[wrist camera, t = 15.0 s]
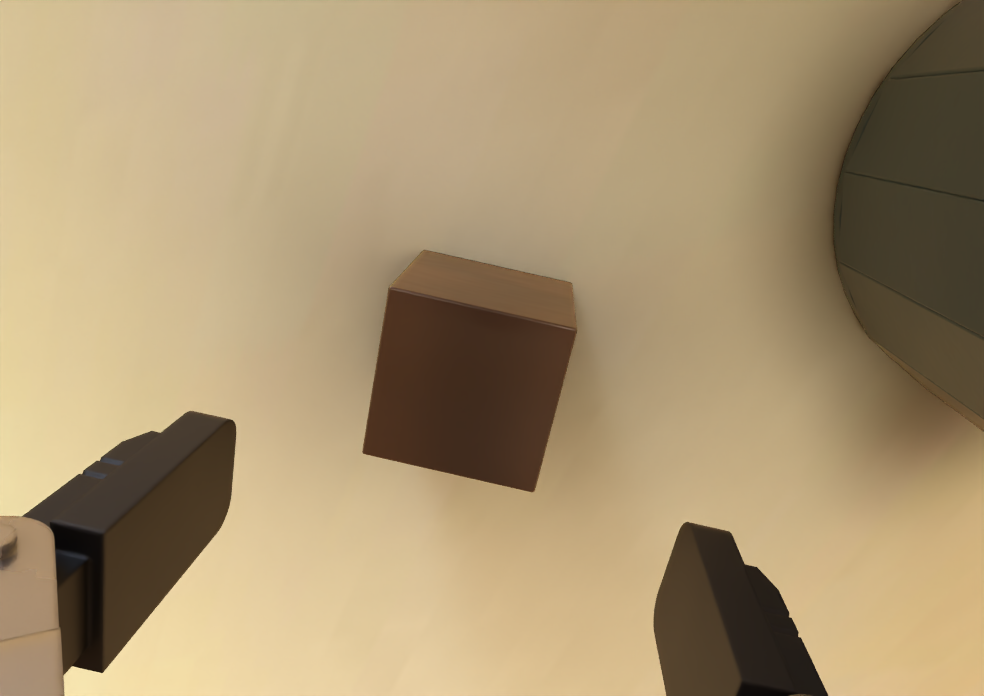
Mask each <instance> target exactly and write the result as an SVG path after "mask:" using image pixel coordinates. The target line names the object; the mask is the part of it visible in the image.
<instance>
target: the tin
mask: <svg viewBox="0 0 984 696" xmlns="http://www.w3.org/2000/svg"><path fill="white" fill-rule="evenodd" d="M834 247H835V253H836V260H837V267H838V272H839V275H840V278H841V281H842V285H843V288H844V291H845V294H846V297H847V299H848V301H849V303H850V305H851V307H852V309H853V311H854V313H855V315H856V317H857V319H858V320H859V322H860V323H861V324H862V326H863V327H864V329H865V331H866V334H867V335H868V337H869V338H870V339H871V340H872V341H873V342H875V343H876V344H877V345H878V346H879V347H880V348H881V349H882V350H883V351H884V352H885V353H886V354H887V355H888V356H889V357H890V358H891V359H893V360H894V361H895V362H896V363H898V364H899V365H900V366H901V367H902V368H903V369H905V370H906V371H907V372H908V373H909V374H910V375H911V376H912V377H913V378H914V379H916V380H917V381H918V382H919V383H920V384H921V385H922V386H923V387H925V388H926V389H927V390H929V391H930V392H931V393H933V394H934V395H935V396H937V397H938V398H939V399H941V400H942V401H943V402H945V403H946V404H948V405H949V406H950V407H952V408H953V409H954V410H956V411H957V412H958V413H960V414H961V415H962V416H964V417H965V418H966V419H968V420H969V421H970V422H972V423H973V424H974V425H976V426H977V427H978V428H980V429H981V430H982V431H984V0H963V1H961V2H960V3H959V4H957V5H956V6H955V7H953V8H952V9H951V10H949V11H948V12H947V13H945V14H944V15H943V16H942V17H941V18H940V19H939V20H938V21H936V22H935V23H934V24H933V25H932V26H931V27H930V28H929V29H928V30H927V31H926V32H925V33H924V34H923V35H921V36H920V37H919V38H918V39H917V40H916V41H915V43H914V44H913V45H912V46H911V47H910V48H909V49H908V51H907V52H906V53H905V54H904V55H903V56H902V58H901V59H900V60H899V61H898V62H897V63H896V64H895V66H894V67H893V68H892V70H891V71H890V73H889V74H888V75H887V77H886V78H885V80H884V81H883V83H882V84H881V86H880V87H879V88H878V90H877V91H876V93H875V94H874V96H873V97H872V99H871V101H870V103H869V105H868V107H867V109H866V110H865V112H864V114H863V116H862V118H861V120H860V122H859V123H858V125H857V128H856V130H855V133H854V135H853V138H852V140H851V143H850V145H849V148H848V150H847V153H846V155H845V159H844V163H843V167H842V170H841V174H840V178H839V182H838V186H837V193H836V201H835V209H834Z"/></svg>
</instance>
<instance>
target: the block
mask: <svg viewBox="0 0 984 696" xmlns="http://www.w3.org/2000/svg"><path fill="white" fill-rule="evenodd" d="M576 333H577V325H576V316H575V306H574V297H573V288H572V283H569V282H565V281H560V280H556V279H552V278H547V277H543V276H538V275H534V274H529V273H525V272H520V271H516V270H511V269H507V268H503V267H498V266H494V265H489V264H485V263H480V262H476V261H471V260H467V259H462V258H458V257H454V256H449V255H445V254H440V253H436V252H431V251H427V250H423V251H422V252H421V253H420V254H419V256H418V257H417V258H416V259H415V260H414V261H413V262H412V263H411V264H410V265H409V266H408V267H407V268H406V270H405V271H404V272H403V273H402V274H401V275H400V276H399V277H398V278H397V279H396V280H395V281H394V282H393V284H392V285H391V286H390V287H389V289H388V295H387V301H386V308H385V314H384V320H383V326H382V332H381V339H380V345H379V351H378V357H377V364H376V370H375V376H374V382H373V388H372V395H371V401H370V407H369V413H368V420H367V426H366V432H365V438H364V444H363V454H367V455H371V456H375V457H380V458H384V459H388V460H393V461H397V462H402V463H406V464H410V465H415V466H419V467H424V468H428V469H432V470H437V471H441V472H445V473H450V474H454V475H459V476H463V477H467V478H472V479H476V480H481V481H485V482H489V483H494V484H498V485H502V486H507V487H511V488H516V489H520V490H524V491H529V492H534V491H535V488H536V484H537V480H538V476H539V473H540V469H541V465H542V461H543V458H544V454H545V450H546V446H547V442H548V439H549V435H550V431H551V427H552V424H553V420H554V416H555V412H556V409H557V405H558V401H559V397H560V393H561V390H562V386H563V382H564V378H565V375H566V371H567V367H568V363H569V360H570V356H571V352H572V348H573V344H574V341H575V337H576Z"/></svg>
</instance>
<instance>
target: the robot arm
mask: <svg viewBox="0 0 984 696" xmlns="http://www.w3.org/2000/svg"><path fill="white" fill-rule="evenodd" d="M235 443H236V425H235V423H234V421H233V420H230V419H226V418H221V417H217V416H212V415H208V414H203V413H199V412H194V411H189V412H187V413H185V414H184V415H183V416H181V417H180V418H179V419H178V420H176V421H175V422H174V423H173V424H171V425H170V426H169V427H168V428H166V429H165V430H164V431H163V432H161V433H158V432H154V431H150V432H148V433H145V434H142V435H140V436H137V437H134V438H131V439H129V440H126V441H123V442H121V443H120V444H119V445H117V446H116V447H115V448H113V449H112V450H111V451H109V452H108V453H106V454H105V455H104V456H102V457H101V460H100V461H96V462H94V463H93V464H92V465H90V466H89V467H88V468H86V469H85V470H84V471H83V474H82V475H81V474H78V475H77V476H76V477H74V478H73V479H72V480H70V481H69V482H68V483H66V484H65V485H64V486H62V487H61V488H60V489H58V490H57V491H56V492H54V493H53V494H52V495H50V496H49V497H47V498H46V499H45V500H43V501H42V502H41V503H39V504H38V505H37V506H35V507H34V508H33V509H31V510H30V511H29V512H27V513H26V514H25V515H23V516H22V517H19V516H0V696H64V680H63V676H64V674H65V673H66V672H67V671H68V670H69V669H70V668H71V666H74V667H78V668H83V669H87V670H91V671H96V672H100V673H103V672H104V671H105V669H106V668H107V667H108V666H109V664H110V663H111V662H112V661H113V660H114V658H115V657H116V656H117V655H118V653H119V652H120V651H121V650H122V649H123V647H124V646H125V645H126V644H127V642H128V641H129V640H130V639H131V638H132V636H133V635H134V634H135V633H136V631H137V630H138V629H139V628H140V627H141V625H142V624H143V623H144V622H145V620H146V619H147V618H148V617H149V616H150V614H151V613H152V612H153V611H154V609H155V608H156V607H157V606H158V605H159V603H160V602H161V601H162V600H163V598H164V597H165V596H166V595H167V593H168V592H169V591H170V590H171V589H172V587H173V586H174V585H175V584H176V582H177V581H178V580H179V579H180V578H181V576H182V575H183V574H184V573H185V571H186V570H187V569H188V568H189V567H190V565H191V564H192V563H193V562H194V560H195V559H196V558H197V557H198V556H199V554H200V553H201V552H202V551H203V549H204V548H205V547H206V546H207V545H208V543H209V542H210V541H211V540H212V538H213V537H214V536H215V535H216V534H217V532H218V531H219V529H220V528H221V526H222V524H223V522H224V520H225V517H226V515H227V512H228V509H229V505H230V500H231V492H232V480H233V467H234V455H235ZM654 633H655V638H656V644H657V649H658V654H659V659H660V664H661V670H662V675H663V680H664V685H665V690H666V696H828V694H827V692H826V690H825V688H824V685H823V683H822V681H821V679H820V677H819V675H818V673H817V671H816V669H815V666H814V664H813V662H812V660H811V658H810V656H809V654H808V652H807V649H806V647H805V645H804V643H803V641H802V639H801V638H800V637H798V630H797V628H796V626H795V624H794V622H793V620H792V618H790V617H789V611H788V609H787V607H786V605H785V603H784V601H783V599H782V597H781V594H780V592H779V590H778V589H777V588H776V587H775V586H774V585H773V584H772V583H771V582H770V581H769V580H768V578H767V577H766V576H765V575H764V574H763V573H762V572H761V571H760V570H759V569H758V568H757V567H754V566H749V565H745V564H744V562H743V560H742V557H741V555H740V552H739V550H738V548H737V545H736V543H735V541H734V538H733V536H732V534H731V533H730V532H729V531H725V530H721V529H716V528H712V527H707V526H703V525H698V524H694V523H689V522H686V523H684V524H683V525H682V527H681V528H680V531H679V533H678V536H677V539H676V541H675V544H674V547H673V550H672V553H671V556H670V559H669V562H668V565H667V568H666V571H665V574H664V577H663V580H662V582H661V585H660V588H659V591H658V594H657V598H656V603H655V609H654Z"/></svg>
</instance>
